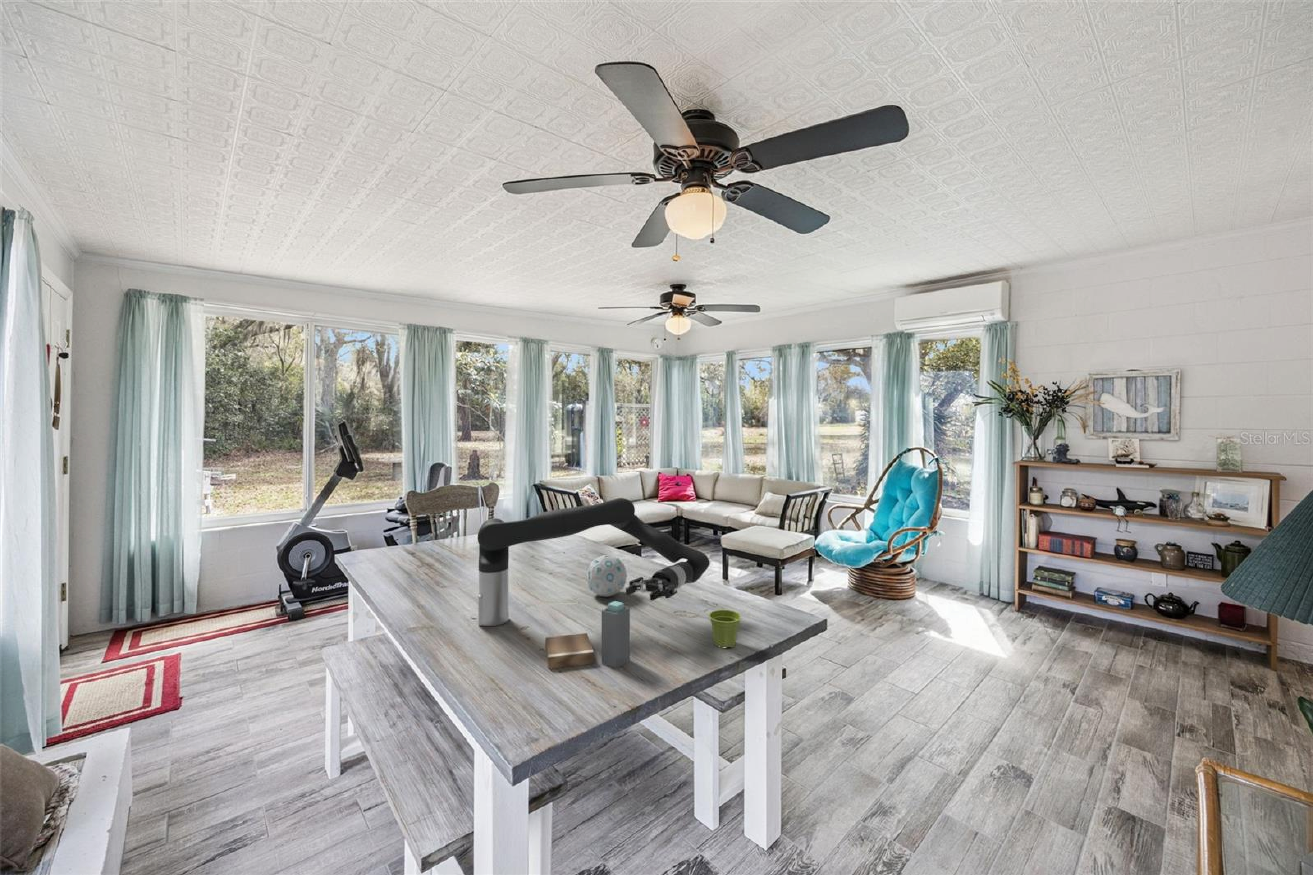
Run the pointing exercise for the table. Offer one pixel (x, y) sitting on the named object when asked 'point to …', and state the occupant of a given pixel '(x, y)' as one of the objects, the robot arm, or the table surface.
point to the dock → (568, 650)
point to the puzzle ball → (606, 575)
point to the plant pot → (724, 627)
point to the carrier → (615, 637)
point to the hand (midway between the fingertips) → (638, 594)
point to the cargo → (615, 607)
